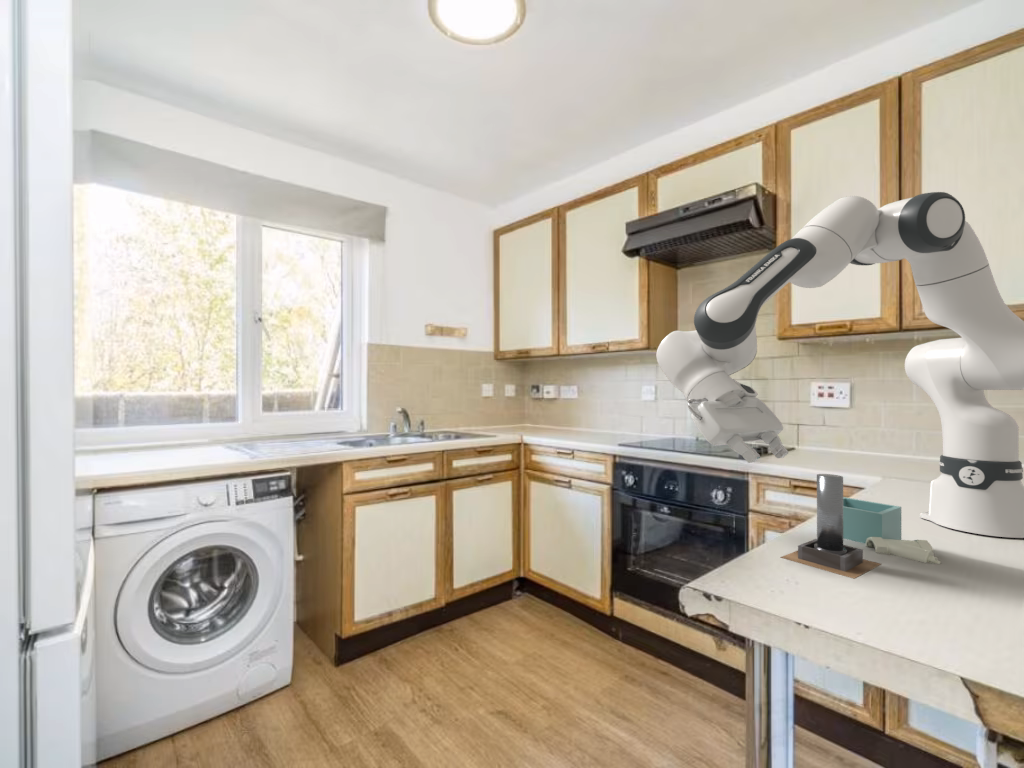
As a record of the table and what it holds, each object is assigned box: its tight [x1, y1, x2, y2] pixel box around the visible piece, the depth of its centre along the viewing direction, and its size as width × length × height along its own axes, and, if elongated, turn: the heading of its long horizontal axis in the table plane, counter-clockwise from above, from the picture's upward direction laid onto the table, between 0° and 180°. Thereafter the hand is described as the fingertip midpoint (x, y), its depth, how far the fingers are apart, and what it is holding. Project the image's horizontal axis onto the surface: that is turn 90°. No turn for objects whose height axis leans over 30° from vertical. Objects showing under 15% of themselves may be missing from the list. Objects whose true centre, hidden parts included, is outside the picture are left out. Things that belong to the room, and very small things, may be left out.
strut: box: [814, 473, 847, 556], centre depth 74 cm, size 4×4×13 cm
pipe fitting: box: [865, 537, 942, 565], centre depth 76 cm, size 8×4×7 cm
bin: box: [843, 496, 902, 545], centre depth 86 cm, size 9×9×7 cm
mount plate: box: [780, 538, 882, 579], centre depth 73 cm, size 10×10×4 cm
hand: (770, 458), depth 81 cm, fingers open, 8 cm apart
